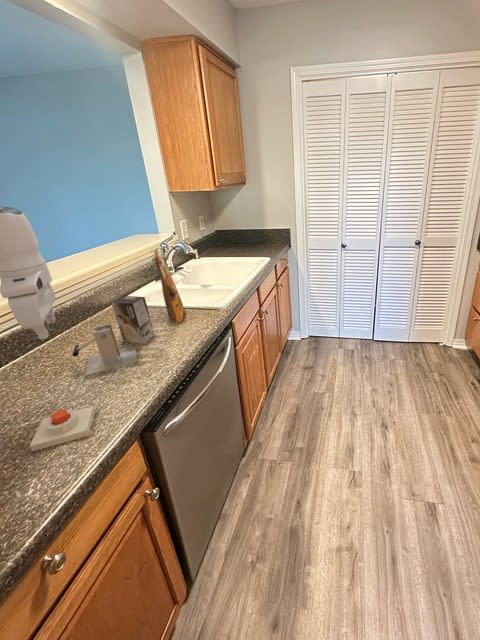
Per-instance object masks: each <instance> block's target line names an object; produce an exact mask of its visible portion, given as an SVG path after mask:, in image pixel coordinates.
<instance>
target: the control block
mask: <svg viewBox="0 0 480 640" xmlns="http://www.w3.org/2000/svg"><path fill="white" fill-rule="evenodd" d="M66 410H67V412H68V414H69V419H68V420H67V421H65V422H63V423H62V424H58V425H55V424H53V422H52V419H51V416H50V417H46V418H42V419H41V421H40V423H39V425H38V427H37V429H36V431H35V433H34V435H33V437H32V440H31V442H30V444H29V448H30V450H31V452H35V451H39V450H42V449H45V448H50V447H53V446H56V445H60V444H64V443H68V442H71V441H74V440H79V439H82V438H85V437H89V435H90V431H91V428H92V424H93V421H94V417H95V413H96V409H95V407H94V406H89V407H86V408H82V409H78V410H77V409H76V410H74V409H66Z"/></svg>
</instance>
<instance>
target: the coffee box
mask: <svg viewBox="0 0 480 640" xmlns="http://www.w3.org/2000/svg"><path fill="white" fill-rule="evenodd" d="M111 306H112V309H113V312H114V315H115V316H114V317H115V319H116V322H117V325H118V329H119V331H120V335H121V338H122V341H123V342H128V343H136V344H137V343H138V344H145V343H147V342H148V341H149V340H151V339H152V338H154V336H155V331H154V327H153V324H152V320H151V316H150V312H149V309H148V305H147V301H146V297H145V296H135V295H134V296H133V295H132V296H131V295H122V296H120V297H118V298H117V299H115V300H114V301H111Z"/></svg>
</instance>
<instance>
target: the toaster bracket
mask: <svg viewBox="0 0 480 640" xmlns="http://www.w3.org/2000/svg"><path fill="white" fill-rule="evenodd" d="M104 327H106V328H107V329H104V330H100V329H102V328H104ZM93 328H94V331H93V332H92V334H93V337H95V340H96V341H95V342H96V345H97V348H98V351H99V354H97V355H92V356H89V357H88V359H87V365H86V369H85V377H88V376H89V377H90V376H92V375H96V374H100V373H104V372H108V371H111V370H115V369H119V368H123V367H126V366H130V365H134V364H137V363H138V355H137V346H136V345H134V346H130V347H126V348H122V349H121V348H120V349H119V345H118V343H117V339H116V336H115V332H114V330H113V327H112V323H111V322H110V323H104V324H100V325H95V326H94V327H93Z"/></svg>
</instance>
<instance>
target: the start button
mask: <svg viewBox="0 0 480 640" xmlns="http://www.w3.org/2000/svg"><path fill="white" fill-rule="evenodd" d="M67 410H68V409H59V410H57V411H55V412H54V413H52V414H51V415H50V417H51V419H52V422H53V424H55V425H58V424H62V423H63V422H65V421H67V420H68V419H69V414H68V412H67Z"/></svg>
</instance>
